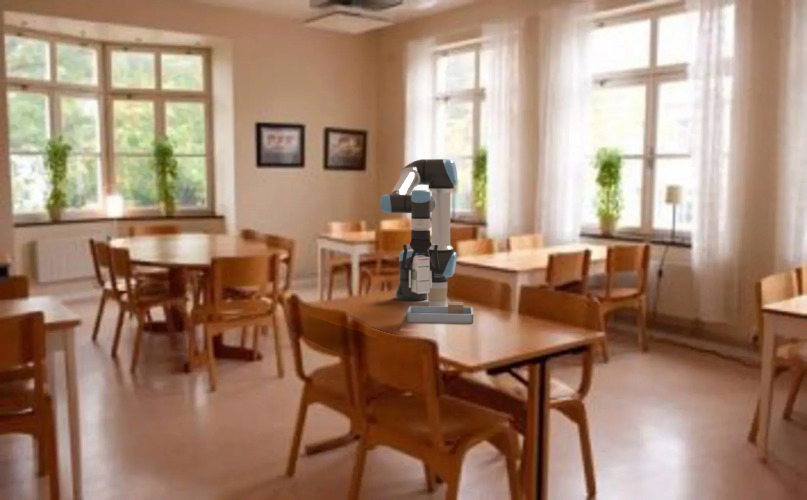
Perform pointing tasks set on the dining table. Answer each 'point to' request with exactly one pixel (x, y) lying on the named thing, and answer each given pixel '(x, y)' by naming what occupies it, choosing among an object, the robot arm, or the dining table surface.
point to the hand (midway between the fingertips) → (420, 287)
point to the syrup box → (420, 275)
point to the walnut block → (455, 307)
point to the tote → (438, 314)
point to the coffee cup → (438, 291)
